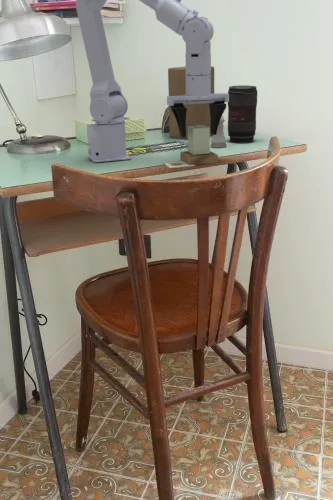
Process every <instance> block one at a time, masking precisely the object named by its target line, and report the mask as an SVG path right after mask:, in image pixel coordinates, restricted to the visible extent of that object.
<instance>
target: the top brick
mask: <svg viewBox="0 0 333 500" xmlns="http://www.w3.org/2000/svg"><path fill="white" fill-rule="evenodd" d="M210 138H211V136H210V128H209V127H206V126H204V125H195V126H189V127H188V139H187V151H188V152H189V153H191V154H193V155H198V154H209V153H210V151H211V150H210V149H211V148H210V147H211V144H210V143H211V139H210Z"/></svg>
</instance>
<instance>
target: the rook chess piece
mask: <svg viewBox="0 0 333 500" xmlns="http://www.w3.org/2000/svg"><path fill="white" fill-rule="evenodd" d="M225 121H226V120H225V119H224V116H222V117H221V119H220V122H219V125H218V129H217V134H216V135H212V139H210V143H211V144H210V147H211V148H212V149H224V148H226V147H227V146H228V144H226V143H227V139H226V137H225V133H224V127H225V126H224V122H225Z"/></svg>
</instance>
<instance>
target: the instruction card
mask: <svg viewBox="0 0 333 500" xmlns="http://www.w3.org/2000/svg"><path fill="white" fill-rule="evenodd" d="M164 164H165V166H166V167H167V168H169V169H175V168H188V167H195V166H196V165H189V164H188V163H186V162H184V161H175V162H164V163H163V165H164Z"/></svg>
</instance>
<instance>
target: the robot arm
mask: <svg viewBox="0 0 333 500" xmlns="http://www.w3.org/2000/svg"><path fill="white" fill-rule="evenodd" d="M138 1H139V2H141V3H142V4H144V5H145V6H147V7H149V8H150V9H151V10H153V11H154V14H155V18H156V20H157V21H159V22H160V23H161V24H163V25H164V26H166V27H167V28H169V30H171V31H173V32H174V33H176V34H177V35H178V36H181V37H182V40H183V41H184V43H185V53H184V54H185V66H186V95H177V96H169V95H168V96H167V95H166V105H167V106H168V107H169V106H170V107H171V110H172V112H173V114H174V116H175V118H176V121H177V124H178V127H179V131H180V136H181V137H186V112H187V108H185V106H183V105H184V104H201V103H210V104H209V107H210V117H211V125H210V131H211V134H213V135H216V134H217V129H218V125H219V122H220V119H221V117H223V114H224V112H225V110H226V109H227V103H228V102H229V94H228V92H221V93H218V92H217V93H215V92H214V94H211V75H210V74H211V66H212V52H211V40H213V39H212V38H213V37H214V33H215V32H214V26H213V24H212V22H211V21H210V20H209V19H208V18H207V17H205V16H198V15H199V11H198V10H196V9H193V10H192V9H190V8H189V7H188V6H186V5H185V4H183V3H182V0H138ZM106 2H108V0H75V10H76V13H77V18H78V22H79V27H80V32H81V37H82V40H83V41H82V42H83V46H84V48H85V49H84V50H85V53H86V59H87V64H88V66H89V73H90V76H91V81H92V86H91V88H90V92H89V97H90V104H89V112H90V115H91V117H92V119H93V120H95V121H94V122H95V123H89V124H87V126H86V137H87V139H86V140H87V151H88V152H87V153H88V158H89V159H90V160H91V161H92V162H93V163H102V162H103V163H104V162H113V161H114V162H115V161H125V160H132V157H131V156H130V155H129V154H128V153H127V143H126V142H127V140H126V139H127V136H126V123H125V117H124V116H125V115H126V113H127V112H128V107H129V106H128V105H129V104H128V100H127V99H126V97H125V96H124V94H123V92H122V88H121V86H120V84H119V83H118V82H117V80H116V78H115V75H114V74H115V73H114V69H113V65H112V60H111V55H110V51H109V45H108V42H107V37H106V36H107V35H106V31H105V28H104V22H103V18H102V17H103V16H102V12H101V10H102V9H103V7H104V6H105V4H106ZM192 100H210V101H193V102H190V101H192ZM187 101H188V102H187ZM213 135H212V136H213Z"/></svg>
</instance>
